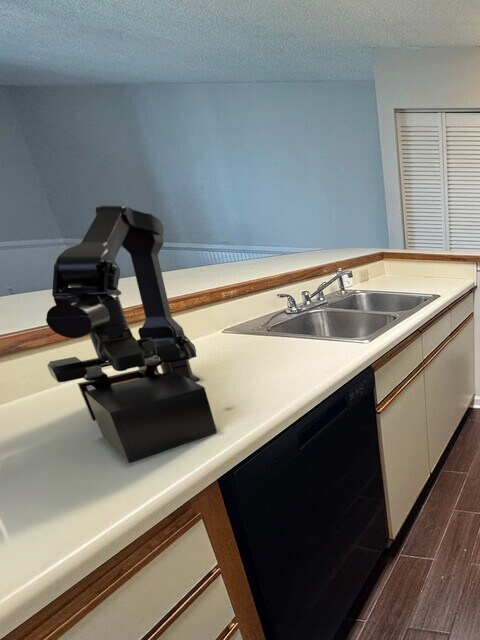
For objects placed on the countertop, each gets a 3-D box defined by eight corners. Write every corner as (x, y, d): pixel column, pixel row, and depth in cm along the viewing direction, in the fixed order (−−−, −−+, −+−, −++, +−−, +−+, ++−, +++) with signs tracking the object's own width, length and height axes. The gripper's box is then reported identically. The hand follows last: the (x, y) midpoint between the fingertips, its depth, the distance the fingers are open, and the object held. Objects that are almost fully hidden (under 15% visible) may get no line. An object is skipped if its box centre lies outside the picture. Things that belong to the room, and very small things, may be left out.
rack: (90, 417, 85) (75, 381, 82) (163, 397, 95) (153, 365, 92) (113, 439, 77) (98, 400, 74) (190, 415, 87) (180, 380, 84)
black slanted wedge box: (103, 437, 80) (84, 391, 76) (186, 412, 90) (173, 370, 86) (129, 463, 72) (109, 413, 68) (217, 432, 82) (204, 387, 79)
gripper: (46, 342, 68) (82, 428, 74) (182, 321, 82) (203, 394, 88) (31, 331, 74) (66, 411, 79) (160, 312, 88) (181, 382, 94)
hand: (133, 399), depth 85 cm, fingers closed on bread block, 4 cm apart
